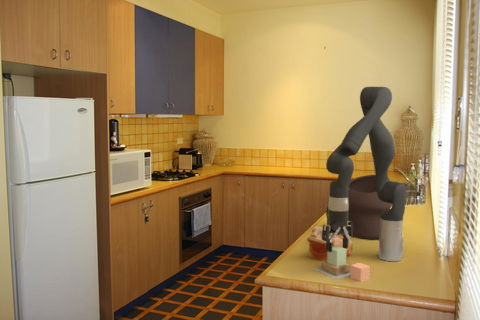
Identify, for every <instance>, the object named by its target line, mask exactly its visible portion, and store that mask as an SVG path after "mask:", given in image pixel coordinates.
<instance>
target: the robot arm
mask: <svg viewBox="0 0 480 320" xmlns="http://www.w3.org/2000/svg"><path fill="white" fill-rule="evenodd" d="M359 94H360V95H359V103H360V108H361V111H362V114H363V117H361V119H359V120H358V121H357V122H356V123H354V125H352V126H351V127H350V128H349V130H348V131H347V132H346V134H345V136H344V138H343V140H342V142H341V143H340V144H339V145H338V146H337V147H336V148H335V150H334V151H333V152H331V153H330V154H329V156H328V158H327V160H326V163H325V164H326V170H327V171H328V173H330V174H334V175H338V176H337V178H336V180H332V181H331V182H330V184H329V198H328V206H329V208H328V219H329V221H330V223H329V225H327V224H323V225H322V227H323V229H322V240H323V241H326V250H327V251H328V252H332V241H333V239H334V238H335V237H336V235H339V234H342V236H343V237H344V238H343V245H342V246H343V248H348V244H349V239H351V237H352V238H353V237H354V236H353V222H351V221H348V215H349V199H348V193H349V184H350V181H351V180H352V177H353V173H354V170H355V169H354V168H355V165H354V162H353V159H352V158H351V156H356V155H357V154H358V153H359V152H360V149H361V147H362V145H363V143H364V142H365V140H366V138H367V137H368V139H369V145H370V150H371V156H372V159H373V166H374V175H376V187H377V194H378V198H379V199H380V200H381V201H383V202H387V203H392V206H391V208H390V209H389V210H384V211H382V212H381V214H380V234H379V239H378V255H377V256H378V259H380V260H382V261H387V262H400V261H401V259H403V250H404V236H403V226H404V225H403V224H404V215H405V212H406V211H405V210H406V203H407V202H406V200H407V187H406V184H404V183H403V182H398V181H391V180H390V178H389V175H388V174H389V173H388V171H389V169H390V166H391V164H392V162H393V160H394V159H395V155H396V147H395V141H394V137H393V136H392V133H391V132H390V131H389V129H388V128H387V126H386V125H385V124H384V123H383V121H382V119H381V118H382V116H383V115H384V114H385V113H386V111H387V110H388V109H389V107H390V106H391V104H392V101H393V95H392V91H391V89H390V88H389V87H386V86H365V87H363V88H362V90H361V91H360V93H359ZM388 178H389V179H388ZM389 180H390V181H389ZM349 230H350V233H349ZM331 232H332V234H331ZM325 235H326V238H325ZM330 237H331V238H330ZM329 238H330V239H329Z"/></svg>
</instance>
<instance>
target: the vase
mask: <svg viewBox="0 0 480 320" xmlns="http://www.w3.org/2000/svg"><path fill="white" fill-rule="evenodd" d="M388 179H389V181H391V180H390V178H389V177H388ZM348 199H349V215H348V221H351V222H353V236H352V237H355V238H360V239H365V240H379V234H380V214H381V212H382V211H384V210H389V209H391V208H392V203H387V202H383V201H381V200H380V199H379V198H378V194H377V187H376V174H366V175H362V176H358V177H355V178H351V181H350V184H349V193H348ZM349 233H350V230H349Z"/></svg>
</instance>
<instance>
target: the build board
mask: <svg viewBox="0 0 480 320" xmlns="http://www.w3.org/2000/svg"><path fill="white" fill-rule="evenodd" d="M321 268H322V267H318V268H314V269H313V270H314V271H317V272H319V273H322V274H324V275H325V276H328V277H331V278H333V279H335V280H337V279H341V278H345V277H350V273H347V274H343V275H339V276H335V275H332V274H330V273H328V272H325V271H323V270H321Z"/></svg>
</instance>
